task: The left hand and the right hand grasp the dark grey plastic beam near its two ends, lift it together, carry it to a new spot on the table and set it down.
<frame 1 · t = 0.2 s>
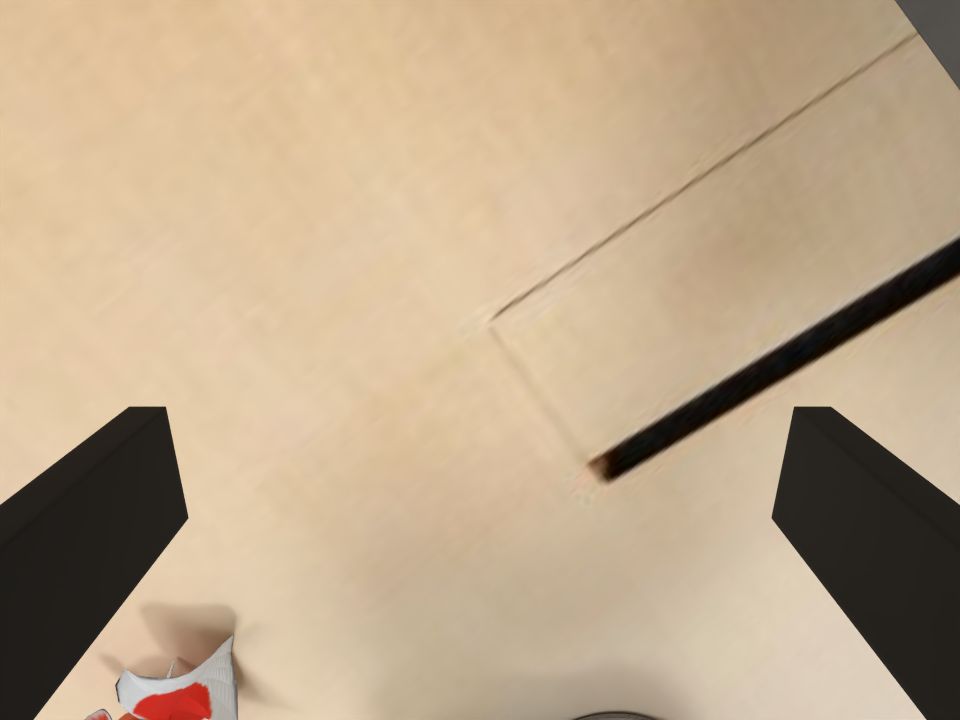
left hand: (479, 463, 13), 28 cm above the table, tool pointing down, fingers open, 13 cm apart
fish: (185, 669, 52), on the table
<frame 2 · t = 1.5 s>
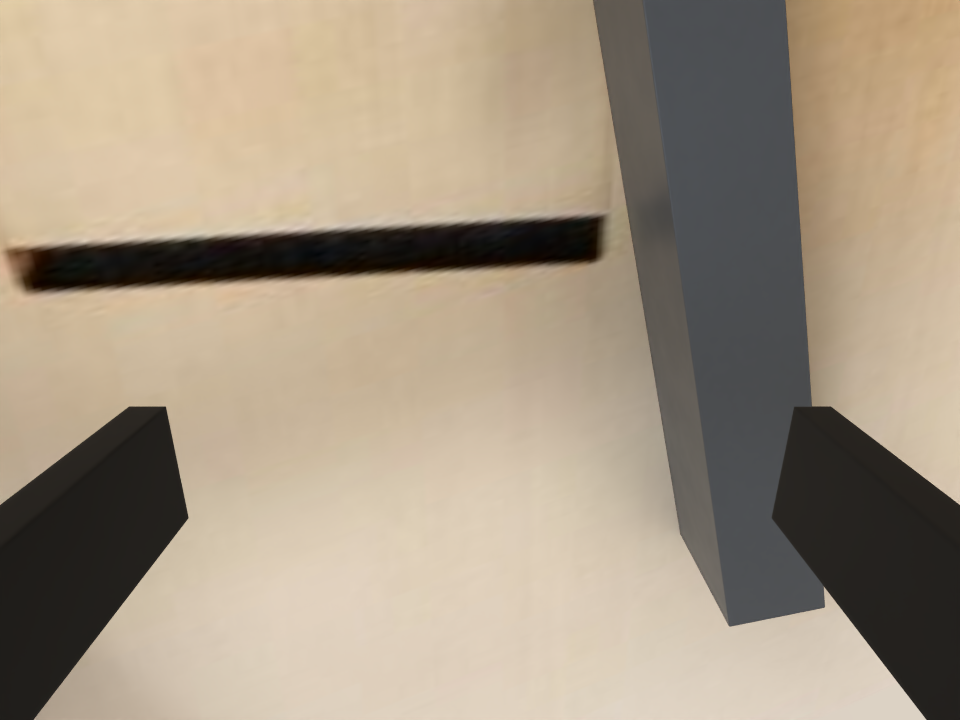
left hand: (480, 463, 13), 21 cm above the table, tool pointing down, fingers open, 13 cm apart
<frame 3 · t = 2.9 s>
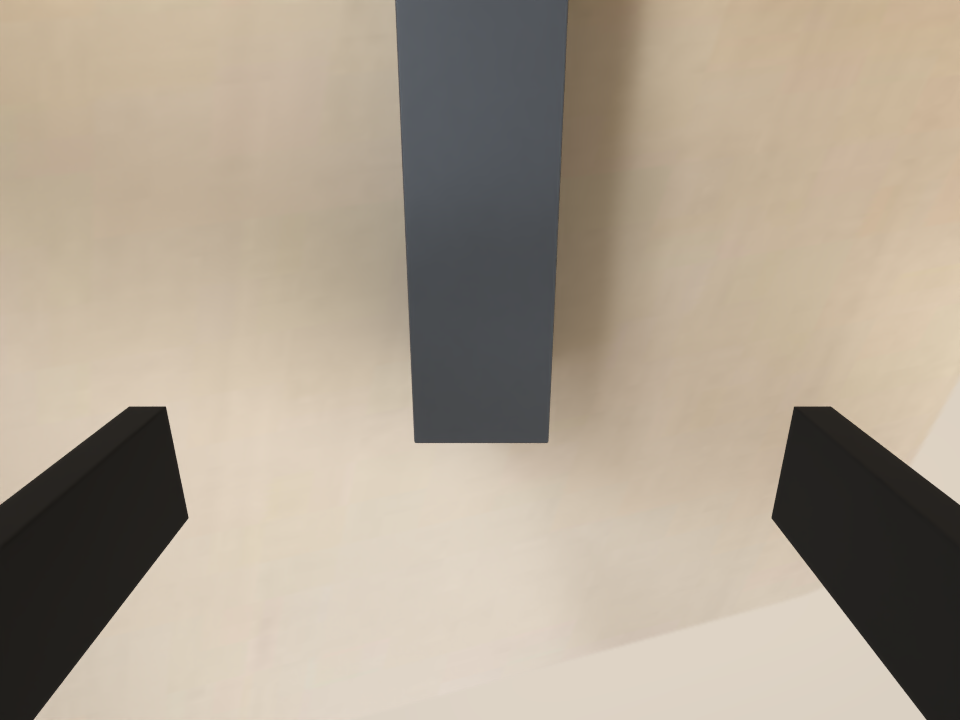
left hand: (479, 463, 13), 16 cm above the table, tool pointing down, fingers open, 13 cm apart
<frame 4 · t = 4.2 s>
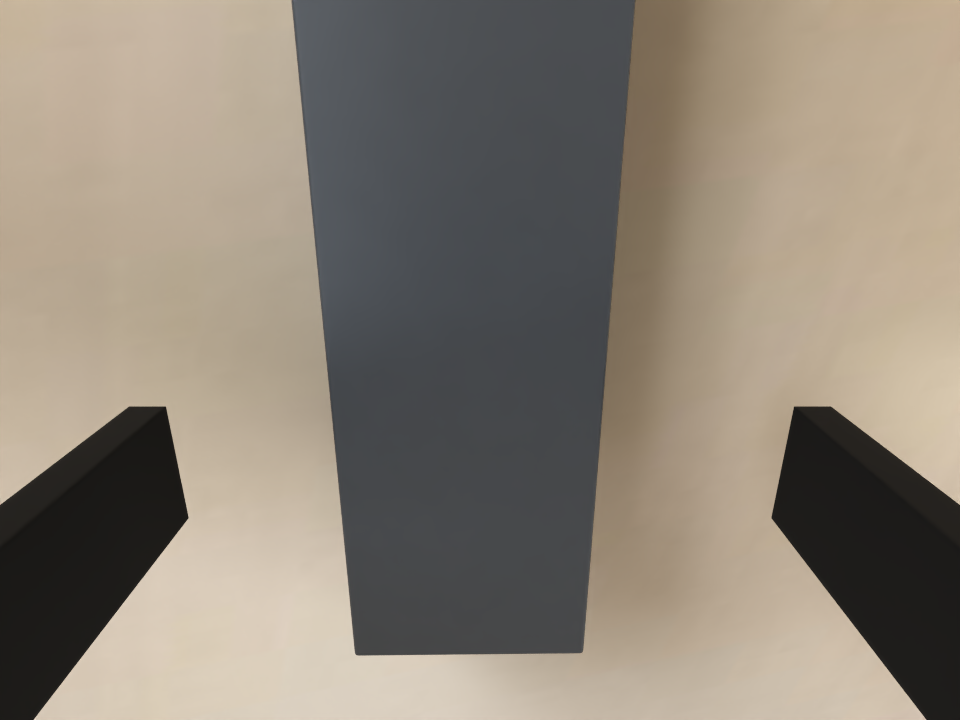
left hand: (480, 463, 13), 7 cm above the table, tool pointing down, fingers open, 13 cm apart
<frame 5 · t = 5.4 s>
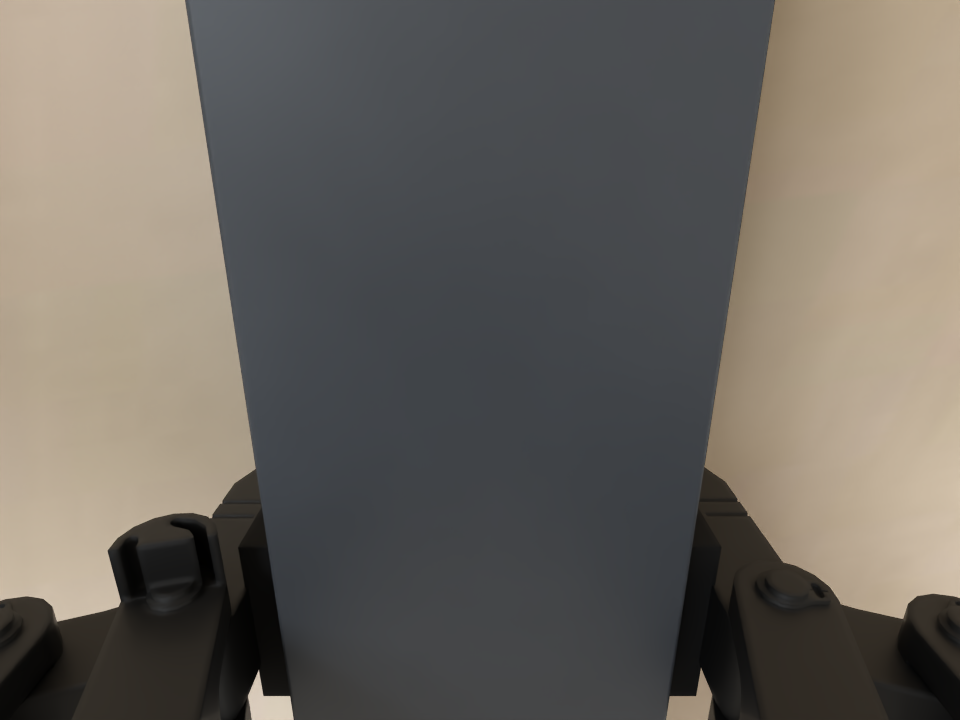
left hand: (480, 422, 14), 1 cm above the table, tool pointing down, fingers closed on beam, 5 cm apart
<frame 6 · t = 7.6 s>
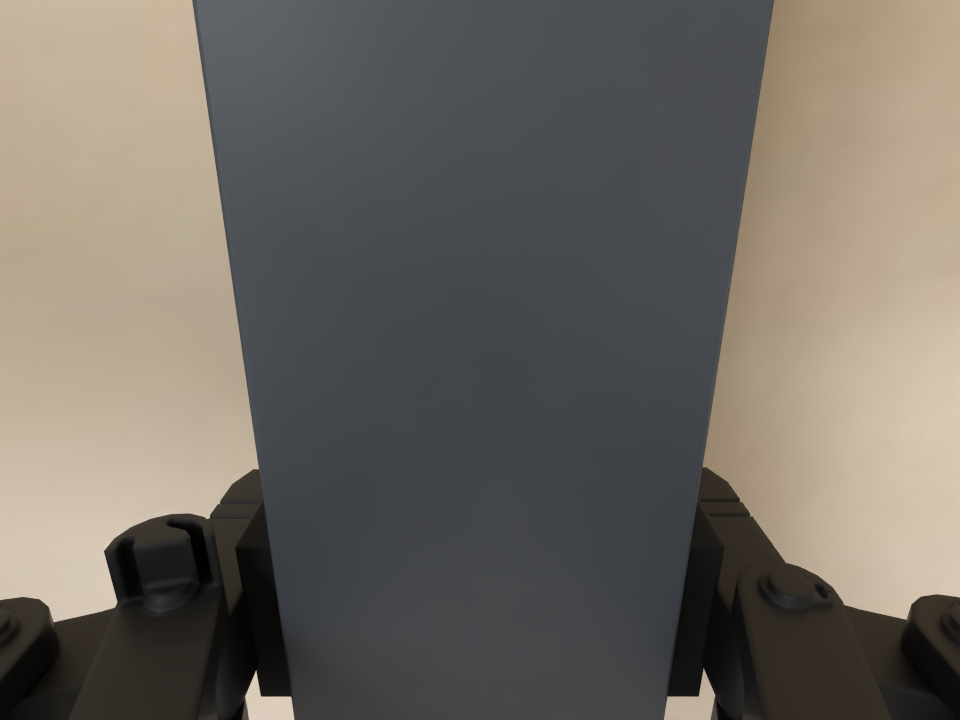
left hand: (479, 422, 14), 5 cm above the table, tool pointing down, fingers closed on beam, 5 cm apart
when the left hand's fingers open (2 cm above the table, at t = 9.8 s): beam stays where it is, on the table.
when the right hand's fingers open (4 cm above the table, at t = 9.9 s): beam stays where it is, on the table.
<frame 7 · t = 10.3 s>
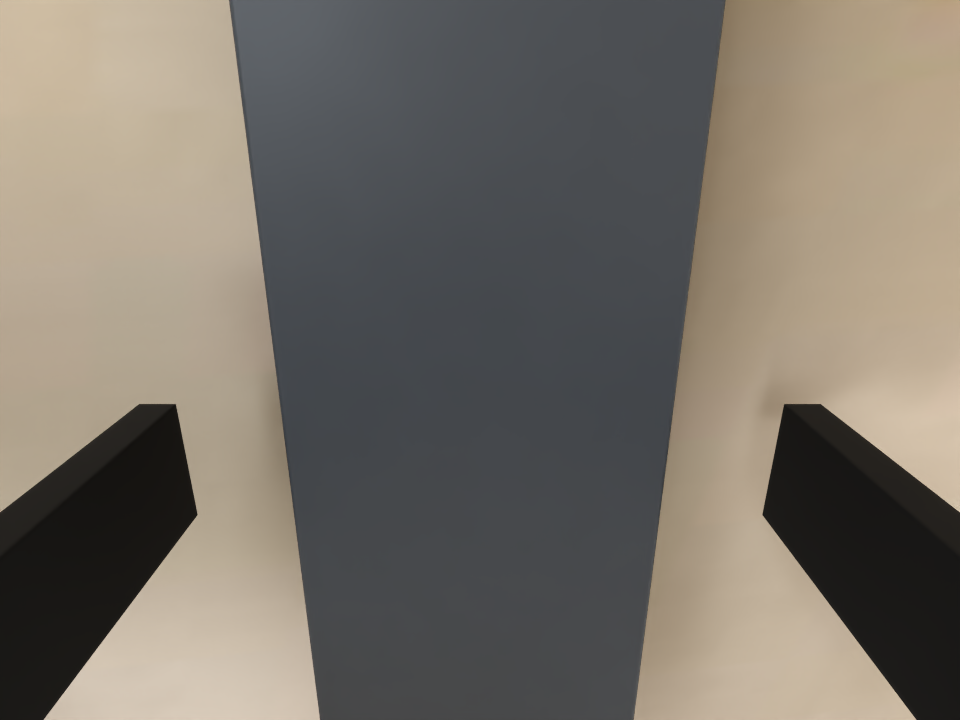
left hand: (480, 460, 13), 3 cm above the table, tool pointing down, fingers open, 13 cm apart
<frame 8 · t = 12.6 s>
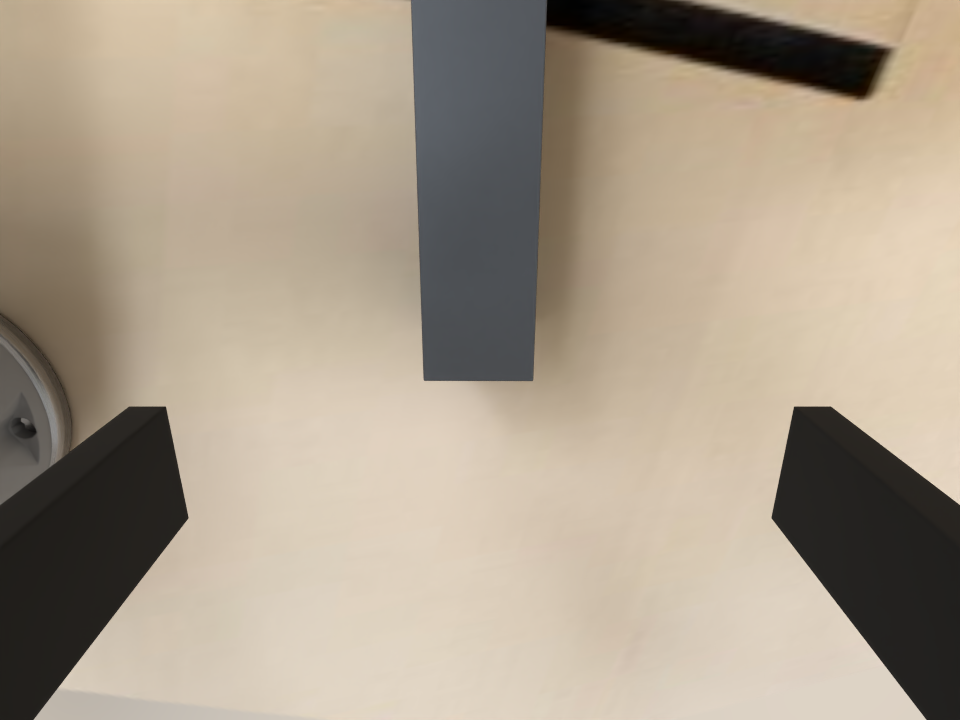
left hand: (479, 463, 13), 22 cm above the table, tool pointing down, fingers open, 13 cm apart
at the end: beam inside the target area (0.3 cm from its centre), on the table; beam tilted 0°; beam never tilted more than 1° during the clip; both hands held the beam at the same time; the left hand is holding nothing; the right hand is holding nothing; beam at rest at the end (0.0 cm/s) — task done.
